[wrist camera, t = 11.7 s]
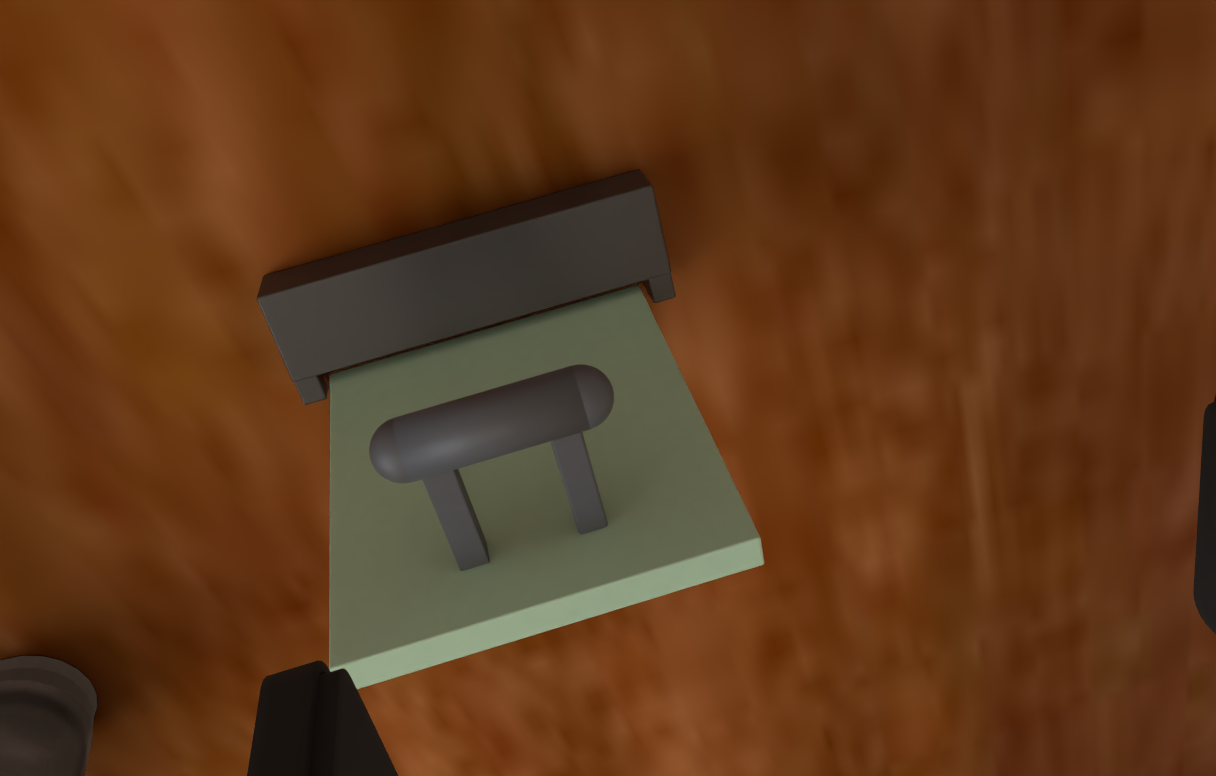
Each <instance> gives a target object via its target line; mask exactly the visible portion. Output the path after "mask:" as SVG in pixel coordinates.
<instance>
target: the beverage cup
mask: <svg viewBox="0 0 1216 776" xmlns="http://www.w3.org/2000/svg"><path fill="white" fill-rule="evenodd" d="M96 709H97V694H96V692H95V690H94V688H93V686H92V684H91V682H90V680H89V679H88V678H87V677H86V676H84V675H83V674H82V673H81V672H80V671H79V670H78V669H76V668H74V667H73V666H71V665H69V664H67V663H65V662H63V661H60V660H56V659H52V658H48V657H44V656H18V657H14V658H9V659H5V660H2V661H0V776H84V775H85V771H86V766H87V761H88V757H89V752H90V747H91V743H92V738H93V732H92V729H93V724H94V715H95V712H96Z"/></svg>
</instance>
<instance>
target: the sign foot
mask: <svg viewBox="0 0 1216 776" xmlns="http://www.w3.org/2000/svg"><path fill="white" fill-rule="evenodd" d="M641 281H643V285H644V287H645V288H646V290H647V292H648V295H649V296H650V297H651V299H652V300H653V302H654V303H657V302H660V301H664V300H667V299H671V298H674V297H675V291H674V286H673V282H672V277H671V269H670V264H669V260H668V255H667V250H666V246H665V241H664V236H663V232H662V227H661V223H660V218H659V213H658V209H657V204H656V200H655V195H654V190H653V186H652V185H651V183H650V182H649V181H648V180H647V178H646V177H645V176H644V174H643V173H642V172H641V171H640V170H635V171H631V172H628V173H624V174H621V175H617V176H614V177H610V178H607V179H603V180H600V181H596V182H593V183H589V184H586V185H582V186H579V187H575V188H572V189H568V190H565V191H561V192H558V193H554V194H551V195H547V196H544V197H540V198H537V199H533V200H529V201H526V202H522V203H519V204H515V205H512V206H508V207H505V208H501V209H498V210H494V211H491V212H487V213H484V214H480V215H477V216H473V217H470V218H466V219H463V220H459V221H456V222H452V223H449V224H445V225H442V226H438V227H435V228H431V229H428V230H424V231H421V232H417V233H414V234H410V235H406V236H403V237H399V238H396V239H392V240H389V241H385V242H382V243H378V244H375V245H371V246H368V247H364V248H361V249H357V250H354V251H350V252H347V253H343V254H340V255H336V256H333V257H329V258H326V259H322V260H319V261H315V262H312V263H308V264H305V265H301V266H298V267H294V268H291V269H287V270H283V271H280V272H276V273H273V274H269V275H266V276H264V277H263V279H262V283H261V286H260V289H259V293H258V296H257V301H258V303H259V305H260V307H261V310H262V312H263V314H264V317H265V319H266V321H267V324H268V326H269V328H270V330H271V333H272V335H273V337H274V340H275V342H276V344H277V347H278V349H279V351H280V354H281V356H282V358H283V360H284V363H285V365H286V367H287V370H288V372H289V374H290V377H291V379H292V381H293V382H295V384H296V387H297V389H298V391H299V394H300V396H301V398H302V401H303V403H304V404H305V405H307V404H310V403H313V402H317V401H320V400H324V399H326V398H327V391H329V384H328V381H329V374H328V372H331V371H335V370H338V369H342V368H345V367H349V366H352V365H355V364H359V363H362V362H366V361H369V360H373V359H376V358H379V357H383V356H386V355H390V354H393V353H397V352H400V351H404V350H407V349H410V348H414V347H417V346H421V345H424V344H428V343H431V342H435V341H438V340H441V339H445V338H448V337H452V336H455V335H459V334H462V333H466V332H469V331H472V330H476V329H479V328H483V327H486V326H490V325H493V324H497V323H500V322H503V321H507V320H510V319H514V318H517V317H521V316H524V315H528V314H531V313H534V312H538V311H541V310H545V309H548V308H552V307H555V306H559V305H562V304H565V303H569V302H572V301H576V300H579V299H583V298H586V297H590V296H593V295H596V294H600V293H603V292H607V291H610V290H614V289H617V288H621V287H624V286H627V285H631V284H634V283H638V282H641Z"/></svg>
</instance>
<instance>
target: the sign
mask: <svg viewBox="0 0 1216 776" xmlns="http://www.w3.org/2000/svg"><path fill="white" fill-rule="evenodd" d="M763 564H764V557H763V551H762V545H761V538H760V536H759V534H758V532H757V530H756V528H755V525H754V523H753V521H752V519H751V517H750V515H749V513H748V511H747V509H746V507H745V505H744V503H743V501H742V498H741V496H740V494H739V492H738V490H737V488H736V486H735V484H734V482H733V480H732V478H731V476H730V474H729V471H728V469H727V467H726V465H725V463H724V461H723V459H722V457H721V455H720V453H719V451H718V449H717V447H716V444H715V442H714V440H713V438H712V436H711V434H710V432H709V430H708V428H707V426H706V424H705V422H704V420H703V417H702V415H701V413H700V411H699V409H698V407H697V405H696V403H695V401H694V399H693V397H692V395H691V393H690V390H689V388H688V386H687V384H686V382H685V380H684V378H683V376H682V374H681V372H680V370H679V368H678V366H677V363H676V361H675V359H674V357H673V355H672V353H671V351H670V349H669V347H668V345H667V343H666V341H665V339H664V336H663V334H662V332H661V330H660V328H659V326H658V324H657V322H656V320H655V318H654V316H653V314H652V312H651V309H650V307H649V305H648V303H647V301H646V299H645V297H644V295H643V293H642V291H641V289H640V287H639V285H636V286H632V287H629V288H625V289H622V290H618V291H615V292H611V293H608V294H605V295H601V296H598V297H594V298H591V299H587V300H584V301H580V302H577V303H574V304H570V305H567V306H563V307H560V308H556V309H553V310H549V311H546V312H543V313H539V314H536V315H532V316H529V317H525V318H522V319H518V320H515V321H512V322H508V323H505V324H501V325H498V326H494V327H491V328H487V329H484V330H481V331H477V332H474V333H470V334H467V335H463V336H460V337H457V338H453V339H450V340H446V341H443V342H439V343H436V344H432V345H429V346H426V347H422V348H419V349H415V350H412V351H408V352H405V353H401V354H398V355H395V356H391V357H388V358H384V359H381V360H377V361H374V362H370V363H367V364H364V365H360V366H357V367H353V368H350V369H346V370H343V371H339V372H336V373H333V374H331V380H330V628H329V670H330V671H331V672H332V671H335V670H339V669H342V668H343V669H346V670H347V671H348V673H349V675H350V676H351V678H352V680H353V682H354V684H355V686H356V689H359V688H363V687H366V686H369V685H372V684H376V683H379V682H382V681H385V680H389V679H392V678H395V677H399V676H402V675H405V674H408V673H412V672H415V671H418V670H421V669H425V668H428V667H431V666H434V665H438V664H441V663H444V662H447V661H451V660H454V659H457V658H460V657H464V656H467V655H470V654H473V653H477V652H480V651H483V650H486V649H490V648H493V647H496V646H500V645H503V644H506V643H509V642H513V641H516V640H519V639H522V638H526V637H529V636H532V635H535V634H539V633H542V632H545V631H548V630H552V629H555V628H558V627H561V626H565V625H568V624H571V623H574V622H578V621H581V620H584V619H587V618H591V617H594V616H597V615H600V614H604V613H607V612H610V611H614V610H617V609H620V608H623V607H627V606H630V605H633V604H636V603H640V602H643V601H646V600H649V599H653V598H656V597H659V596H662V595H666V594H669V593H672V592H675V591H679V590H682V589H685V588H688V587H692V586H695V585H698V584H701V583H705V582H708V581H711V580H715V579H718V578H721V577H724V576H728V575H731V574H734V573H737V572H741V571H744V570H747V569H750V568H754V567H757V566H760V565H763Z"/></svg>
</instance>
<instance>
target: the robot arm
mask: <svg viewBox="0 0 1216 776" xmlns="http://www.w3.org/2000/svg"><path fill="white" fill-rule="evenodd" d="M1194 600H1195V604H1196V607H1197V609H1198V611H1199V614H1200V616H1201V617H1202V619H1203V620H1204V622H1205V623H1206V624H1207V625H1208V626H1209V628H1210V629H1211V630H1212V631H1213V632H1214V633H1215V634H1216V396H1215V400H1214V402H1213V403H1211V404H1209V405H1208V406H1207V408H1206V409H1205V414H1204V424H1203V441H1202V458H1201V475H1200V492H1199V508H1198V525H1197V542H1196V559H1195V576H1194ZM247 776H398V774H397V772H396V770H395V768H394V766H393V764H392V762H391V760H390V757H389V755H388V753H387V751H386V749H385V747H384V745H383V743H382V741H381V739H380V737H379V735H378V732H377V730H376V728H375V726H374V724H373V722H372V720H371V718H370V716H369V714H368V712H367V709H366V707H365V705H364V703H363V701H362V699H361V697H360V695H359V693H358V691H357V689H356V686H355V684H354V682H353V680H352V678H351V676H350V675H349V673H348V671H347V670H346V669H343V668H342V669H339V670H335V671H332V672H330V671H329V669H328V667H327V666H326V664H325V663H323V662H322V661H315V662H312V663H309V664H305V665H302V666H299V667H295V668H292V669H289V670H286V671H282V672H279V673H276V674H273V675H269V676H266V678H265V679H264V680H263V682H262V686H261V690H260V697H259V703H258V710H257V716H256V723H255V729H254V735H253V742H252V748H251V755H250V761H249V767H248V774H247Z"/></svg>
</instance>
